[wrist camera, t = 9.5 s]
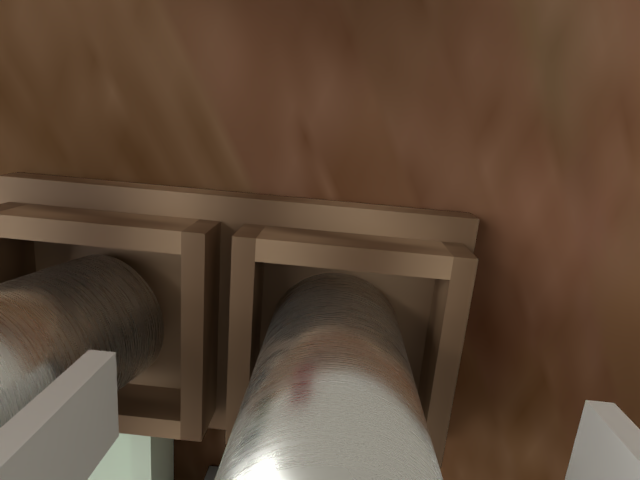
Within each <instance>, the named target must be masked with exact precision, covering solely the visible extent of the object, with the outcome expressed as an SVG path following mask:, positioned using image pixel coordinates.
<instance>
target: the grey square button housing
mask: <svg viewBox="0 0 640 480" xmlns="http://www.w3.org/2000/svg"><path fill="white" fill-rule="evenodd" d="M218 468H219V467H216V466H209V468H208V471H207V473H206V476H205V478H204V480H215V477H216V474H217V471H218Z"/></svg>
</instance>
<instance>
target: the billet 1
mask: <svg viewBox="0 0 640 480" xmlns="http://www.w3.org/2000/svg"><path fill="white" fill-rule="evenodd" d="M163 339H164V322H163V316H162V312H161V309H160V305H159V303H158V301H157V298H156V296H155V294H154V293H153V291H152V289H151V288H150V286H149V285H148V283H147V282H146V281H145V280H144V278H143V277H142V276H141V275H140V274H139V273H138V272H137V271H136V270H135V269H133V268H132V267H131V266H129V265H128V264H126V263H125V262H123V261H121V260H119V259H117V258H114V257H111V256H107V255H101V254H93V255H87V256H83V257H80V258H77V259H74V260H71V261H68V262H65V263H62V264H59V265H56V266H52V267H49V268H46V269H43V270H40V271H37V272H34V273H31V274H28V275H25V276H21V277H18V278H15V279H12V280H9V281H6V282H3V283H0V428H1V427H2V426H3V425H4V424H6V423H7V422H8V421H9V420H10V419H11V418H12V417H13V416H15V415H16V414H17V413H18V412H19V411H20V410H21V409H22V408H24V407H25V406H26V405H27V404H28V403H29V402H30V401H32V400H33V399H34V398H35V397H36V396H37V395H38V394H39V393H41V392H42V391H43V390H44V389H45V388H46V387H47V386H49V385H50V384H51V383H52V382H53V381H54V380H55V379H56V378H58V377H59V376H60V375H61V374H62V373H63V372H64V371H65V370H67V369H68V368H69V367H70V366H71V365H72V364H73V363H75V362H76V361H77V360H78V359H79V358H80V357H81V356H82V355H84V354H85V353H86V352H87V351H88V350H99V351H108V352H116V370H117V391H118V390H119V389H121V388H122V387H123V386H125V385H126V384H127V383H129V382H130V381H131V380H133V379H134V378H135V377H137V376H138V375H140V374H141V373H142V372H144V371H145V370H146V369H148V368H149V367H150V366H151V365H152V364H153V363H154V361H155V360H156V359H157V357H158V355H159V353H160V351H161V348H162V344H163Z"/></svg>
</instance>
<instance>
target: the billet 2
mask: <svg viewBox="0 0 640 480" xmlns="http://www.w3.org/2000/svg"><path fill="white" fill-rule="evenodd" d="M215 480H443V478H442V475H441V471H440V468H439V464H438V461H437V457H436V454H435V450H434V447H433V443H432V440H431V436H430V433H429V430H428V426H427V423H426V419H425V416H424V412H423V409H422V405H421V402H420V398H419V395H418V391H417V388H416V385H415V381H414V378H413V374H412V371H411V367H410V364H409V360H408V357H407V353H406V350H405V346H404V343H403V339H402V336H401V333H400V329H399V326H398V322H397V319H396V315H395V313H394V310H393V308H392V306H391V304H390V303H389V301H388V300H387V298H386V297H385V296H384V294H383V293H382V292H381V291H379V290H378V289H377V288H376V287H375V286H373V285H372V284H371V283H369V282H367V281H365V280H364V279H361V278H359V277H356V276H353V275H349V274H343V273H323V274H318V275H314V276H311V277H309V278H306V279H304V280H302V281H300V282H298V283H297V284H296V285H294V286H293V287H292V288H290V289H289V290H288V291H287V292H286V293H285V294H284V296H283V297H282V298H281V300H280V301H279V303H278V305H277V306H276V309H275V311H274V314H273V316H272V319H271V322H270V325H269V328H268V330H267V333H266V336H265V339H264V342H263V345H262V347H261V350H260V353H259V356H258V359H257V361H256V364H255V367H254V370H253V373H252V376H251V378H250V381H249V384H248V387H247V390H246V392H245V395H244V398H243V401H242V404H241V406H240V409H239V412H238V415H237V418H236V421H235V423H234V426H233V429H232V432H231V435H230V437H229V440H228V443H227V446H226V449H225V451H224V454H223V457H222V460H221V463H220V466H219V468H218V471H217V474H216V477H215Z"/></svg>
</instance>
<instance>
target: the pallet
mask: <svg viewBox="0 0 640 480" xmlns="http://www.w3.org/2000/svg"><path fill="white" fill-rule="evenodd" d="M479 220H480V219H478V218H477V217H476V216H474V215H473V214H471V213H465V212H454V211H443V210H432V209H421V208H410V207H399V206H387V205H376V204H365V203H354V202H343V201H332V200H321V199H310V198H298V197H287V196H276V195H265V194H254V193H243V192H232V191H221V190H210V189H198V188H187V187H176V186H165V185H154V184H143V183H132V182H121V181H109V180H98V179H87V178H76V177H65V176H54V175H43V174H32V173H20V172H17V173H10V174H4V175H0V283H3V282H6V281H9V280H12V279H15V278H18V277H21V276H25V275H28V274H31V273H34V272H37V271H40V270H43V269H46V268H49V267H52V266H56V265H59V264H62V263H65V262H68V261H71V260H74V259H77V258H80V257H83V256H87V255H93V254H101V255H107V256H111V257H114V258H117V259H119V260H121V261H123V262H125V263H126V264H128V265H129V266H131V267H132V268H133V269H135V270H136V271H137V272H138V273H139V274H140V275H141V276H142V277H143V278H144V280H145V281H146V282H147V283H148V285H149V286H150V288H151V289H152V291H153V293H154V294H155V296H156V298H157V301H158V303H159V305H160V309H161V312H162V316H163V322H164V339H163V344H162V348H161V351H160V353H159V355H158V357H157V359H156V360H155V361H154V363H153V364H152V365H151V366H150V367H149V368H148V369H146V370H145V371H144V372H142V373H141V374H140V375H138V376H137V377H135V378H134V379H133V380H131V381H130V382H129V383H127V384H126V385H125V386H123V387H122V388H121V389H119V390H118V391H117V397H118V424H119V433H122V434H132V435H141V436H150V437H160V438H169V439H178V440H188V441H197V442H202V439H203V437H204V435H205V433H206V431H207V428H213V429H222V430H225V445H227V443H228V440H229V437H230V435H231V432H232V429H233V426H234V423H235V421H236V418H237V415H238V412H239V409H240V406H241V404H242V401H243V398H244V395H245V392H246V390H247V387H248V384H249V381H250V378H251V376H252V373H253V370H254V367H255V364H256V361H257V359H258V356H259V353H260V350H261V347H262V345H263V342H264V339H265V336H266V333H267V330H268V328H269V325H270V322H271V319H272V316H273V314H274V311H275V309H276V306H277V305H278V303H279V301H280V300H281V298H282V297H283V296H284V294H285V293H286V292H287V291H288V290H289V289H290V288H292V287H293V286H294V285H296V284H297V283H298V282H300V281H302V280H304V279H306V278H309V277H311V276H314V275H318V274H323V273H343V274H349V275H353V276H356V277H359V278H361V279H364V280H365V281H367V282H369V283H371V284H372V285H373V286H375V287H376V288H377V289H378V290H379V291H381V292H382V293H383V294H384V296H385V297H386V298H387V300H388V301H389V303H390V304H391V306H392V308H393V310H394V313H395V315H396V319H397V322H398V326H399V329H400V333H401V336H402V339H403V343H404V346H405V350H406V353H407V357H408V360H409V364H410V367H411V371H412V374H413V378H414V381H415V385H416V388H417V391H418V395H419V398H420V402H421V405H422V409H423V412H424V416H425V419H426V423H427V426H428V430H429V433H430V436H431V440H432V443H433V447H434V450H435V454H436V457H437V461H438V464H439V467H440V468H441V466H442V461H443V455H444V449H445V444H446V438H447V433H448V427H449V422H450V416H451V410H452V405H453V399H454V394H455V388H456V382H457V377H458V371H459V366H460V360H461V355H462V349H463V343H464V338H465V332H466V327H467V321H468V316H469V310H470V304H471V299H472V293H473V288H474V282H475V276H476V271H477V265H478V260H479V259H478V258H477V257H476V256H475V255H474V249H475V243H476V237H477V232H478V226H479Z"/></svg>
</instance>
